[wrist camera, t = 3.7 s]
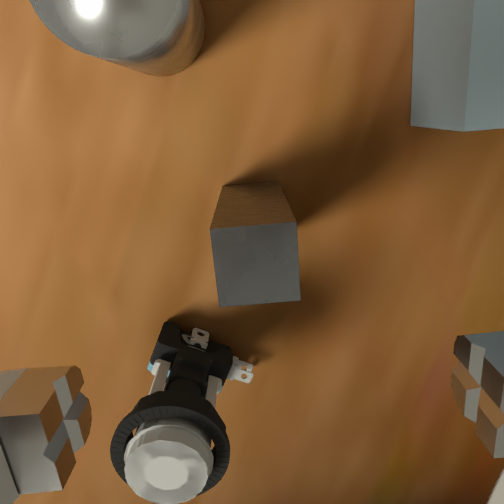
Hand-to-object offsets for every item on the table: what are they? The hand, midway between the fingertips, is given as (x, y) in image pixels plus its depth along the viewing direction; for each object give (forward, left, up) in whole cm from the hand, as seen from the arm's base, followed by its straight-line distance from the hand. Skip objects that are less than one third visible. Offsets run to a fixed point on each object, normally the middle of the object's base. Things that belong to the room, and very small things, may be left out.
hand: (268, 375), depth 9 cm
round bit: (+10, +4, -16) cm, 19 cm away
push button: (-9, +4, -16) cm, 19 cm away
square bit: (0, 0, -16) cm, 16 cm away
